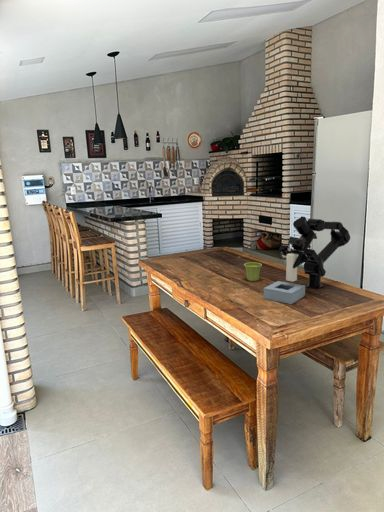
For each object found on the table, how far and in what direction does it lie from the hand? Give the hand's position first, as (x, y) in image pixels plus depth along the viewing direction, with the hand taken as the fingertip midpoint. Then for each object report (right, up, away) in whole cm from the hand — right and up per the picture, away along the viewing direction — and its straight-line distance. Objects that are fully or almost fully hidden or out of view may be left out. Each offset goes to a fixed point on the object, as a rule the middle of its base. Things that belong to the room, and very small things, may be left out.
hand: (289, 267), depth 181 cm
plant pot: (-12, -8, +30) cm, 34 cm away
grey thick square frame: (-2, -14, +1) cm, 14 cm away
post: (+1, -6, +2) cm, 7 cm away
